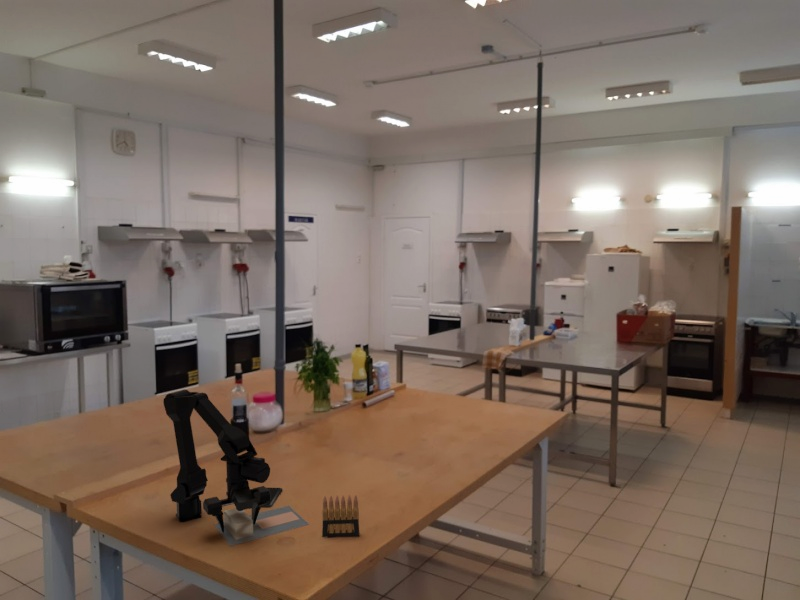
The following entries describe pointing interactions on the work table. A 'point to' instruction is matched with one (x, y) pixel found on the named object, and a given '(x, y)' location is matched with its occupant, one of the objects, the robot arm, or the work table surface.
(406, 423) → the work table surface
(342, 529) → the ammunition clip
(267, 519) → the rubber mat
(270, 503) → the phone
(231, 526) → the ash block
